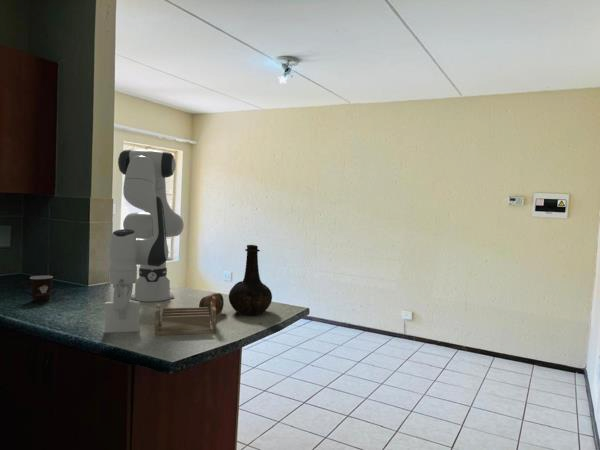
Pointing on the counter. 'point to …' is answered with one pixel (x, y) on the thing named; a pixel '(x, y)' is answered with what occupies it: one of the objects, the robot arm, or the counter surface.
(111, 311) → the panel
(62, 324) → the counter surface
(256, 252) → the glass bottle
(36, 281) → the coffee mug
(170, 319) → the rack
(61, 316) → the counter surface
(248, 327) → the counter surface
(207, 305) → the tin
